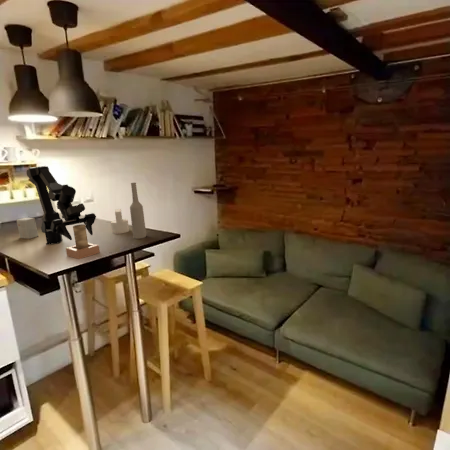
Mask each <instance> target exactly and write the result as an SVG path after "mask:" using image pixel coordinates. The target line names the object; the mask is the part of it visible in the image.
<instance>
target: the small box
mask: <svg viewBox="0 0 450 450" xmlns="http://www.w3.org/2000/svg"><path fill="white" fill-rule="evenodd" d="M16 225H17V229H18V234H19V239H28V240H31V239H34V238H36V237H38V236H39V232H38V229H37V223H36V219H35V217H22V218H18V219H16Z"/></svg>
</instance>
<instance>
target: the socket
mask: <svg viewBox="0 0 450 450" xmlns="http://www.w3.org/2000/svg"><path fill="white" fill-rule="evenodd" d="M100 250H101V249H100V245H99V244H95V243H91V242H88V247H87V248H83V249H80V250H79V249H76V244H74V245H72V246H69V247H66V248H65V254H66V256H67V257H71V258H74V259H77V260H80V259H83V258H86V257H87V258H88V257H90V256H93V255H96V254H100V252H101V251H100Z"/></svg>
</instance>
